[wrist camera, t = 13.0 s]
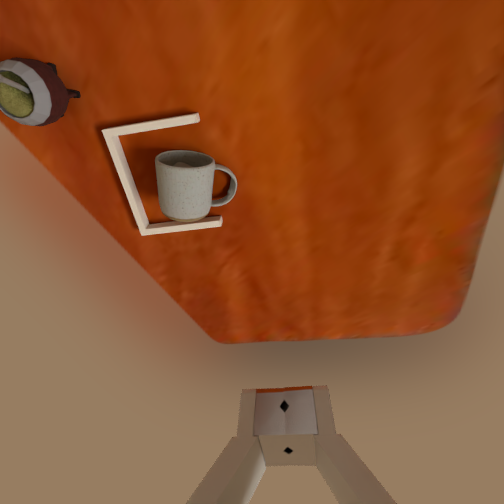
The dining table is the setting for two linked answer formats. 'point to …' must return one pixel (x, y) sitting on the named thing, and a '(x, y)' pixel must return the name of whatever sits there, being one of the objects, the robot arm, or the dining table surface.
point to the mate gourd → (32, 92)
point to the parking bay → (128, 181)
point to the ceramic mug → (188, 184)
